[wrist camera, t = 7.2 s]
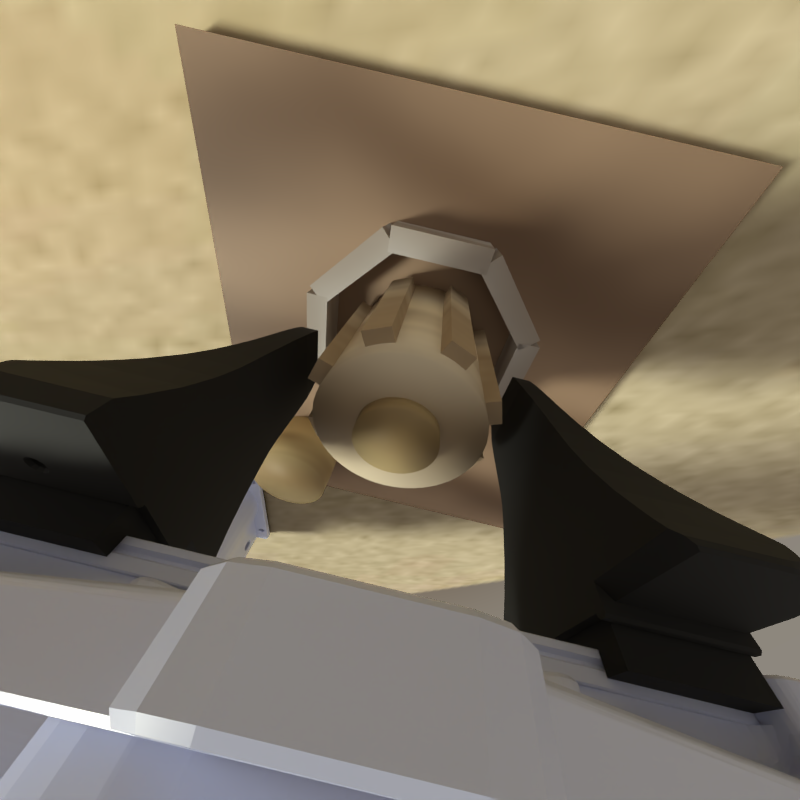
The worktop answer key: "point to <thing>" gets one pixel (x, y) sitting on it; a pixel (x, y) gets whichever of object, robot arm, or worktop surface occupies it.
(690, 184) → the board
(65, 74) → the worktop surface
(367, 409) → the planet gear
